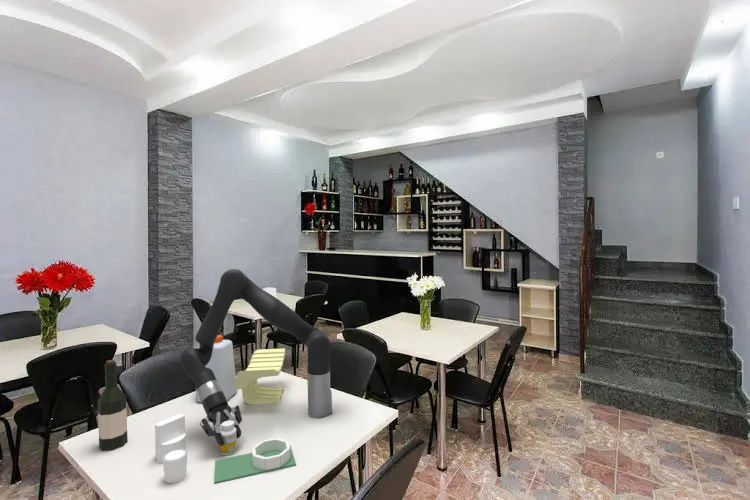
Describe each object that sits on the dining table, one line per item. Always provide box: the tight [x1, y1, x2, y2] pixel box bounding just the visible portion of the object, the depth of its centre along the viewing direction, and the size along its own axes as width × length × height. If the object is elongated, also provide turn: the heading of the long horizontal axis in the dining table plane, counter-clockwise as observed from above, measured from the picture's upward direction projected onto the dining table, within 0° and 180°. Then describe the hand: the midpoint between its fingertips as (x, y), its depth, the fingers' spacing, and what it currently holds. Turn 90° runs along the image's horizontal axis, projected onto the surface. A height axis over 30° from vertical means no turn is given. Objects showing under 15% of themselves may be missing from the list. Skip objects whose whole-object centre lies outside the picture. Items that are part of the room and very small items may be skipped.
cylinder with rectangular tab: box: [154, 413, 187, 464], centre depth 128 cm, size 9×9×12 cm
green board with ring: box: [213, 437, 297, 485], centre depth 122 cm, size 24×12×4 cm, turn 111°
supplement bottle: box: [219, 419, 238, 456], centre depth 130 cm, size 5×5×10 cm
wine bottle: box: [97, 359, 129, 452], centre depth 134 cm, size 8×8×30 cm
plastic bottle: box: [195, 334, 238, 404], centre depth 174 cm, size 15×15×28 cm
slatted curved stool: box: [236, 348, 286, 405], centre depth 173 cm, size 30×16×18 cm, turn 5°
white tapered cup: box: [162, 449, 188, 484], centre depth 116 cm, size 7×7×7 cm
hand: (231, 440), depth 128 cm, fingers closed on supplement bottle, 5 cm apart
